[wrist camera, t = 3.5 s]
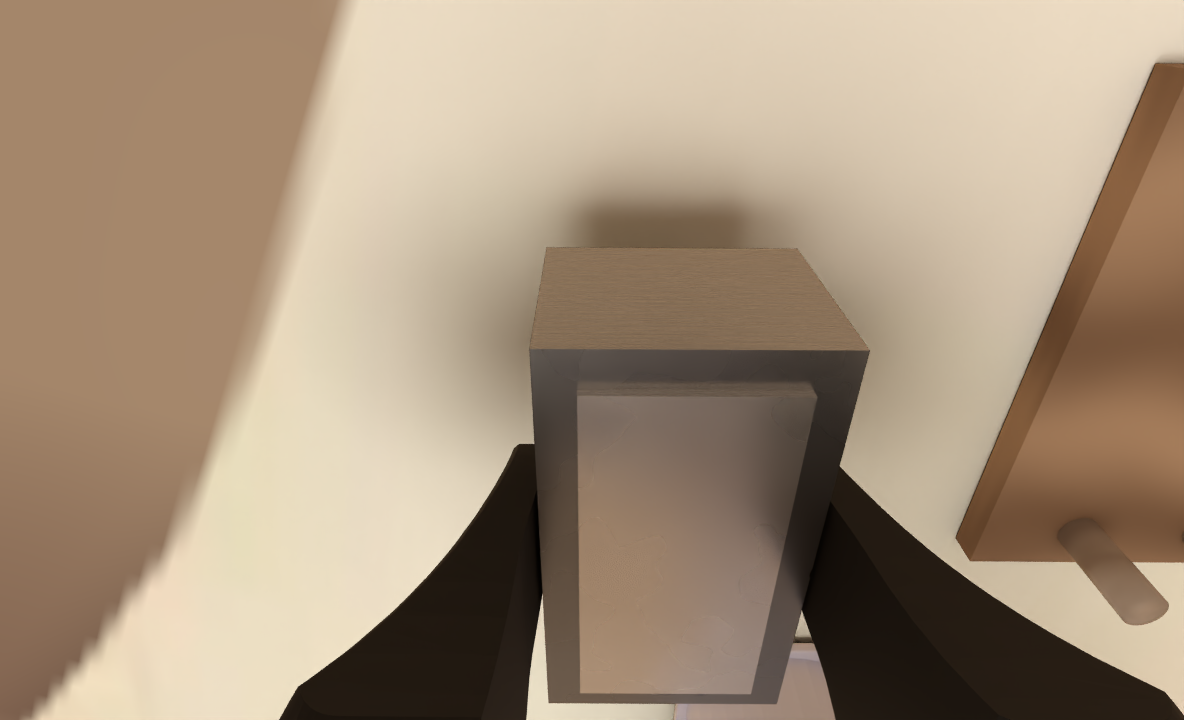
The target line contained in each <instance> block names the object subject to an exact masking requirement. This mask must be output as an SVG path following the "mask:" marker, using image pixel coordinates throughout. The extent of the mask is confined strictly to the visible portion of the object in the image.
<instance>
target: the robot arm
mask: <svg viewBox="0 0 1184 720" xmlns="http://www.w3.org/2000/svg"><path fill="white" fill-rule="evenodd" d="M542 593H543V590H542V571H541V553H540V535H539V516H538V498H537V479H536V461H535V444H519V445H517V446H516V447H515V448H514V450H513V452H512V454H511V457H510V459H509V461H508V463H507V465H506V467H505V469H504V470H503V472H502V474H501V476H500V478H499V479H498V481H497V483H496V485H495V486H494V488H493V490H492V491H491V493H490V494H489V496H488V498H487V499H486V501H485V502H484V504H483V505H482V507H481V509H480V510H479V512H478V513H477V515H476V516H475V517H474V519H473V520H472V522H471V523H470V524H469V526H468V527H467V528H466V530H465V531H464V532H463V534H462V535H461V537H460V538H459V539H458V541H457V542H456V543H455V545H454V546H453V547H452V548H451V550H450V551H449V552H448V553H447V555H446V556H445V557H444V558H443V559H442V561H441V562H440V563H439V564H438V565H437V566H436V567H435V569H434V570H433V571H432V572H431V573H430V574H429V575H428V576H427V578H426V579H425V580H424V581H423V582H422V583H421V584H420V585H419V586H418V587H417V588H416V589H415V590H414V591H413V592H412V593H411V594H410V595H409V596H408V597H407V598H406V599H405V600H404V601H403V602H402V603H401V604H400V605H399V606H398V607H397V608H396V609H395V610H394V611H393V612H392V613H391V614H390V615H388V616H387V617H386V618H385V619H384V620H383V621H382V622H380V623H379V624H378V625H377V626H376V627H375V628H374V629H372V630H371V631H370V632H369V633H368V634H367V635H365V636H364V637H363V638H362V639H361V640H360V641H359V642H357V643H356V644H355V645H354V646H353V647H351V648H350V649H349V650H348V651H346V652H345V653H344V654H342V655H341V656H340V657H338V658H337V659H336V660H334V661H333V662H332V663H330V664H329V665H328V666H326V667H325V668H324V669H322V670H321V671H320V672H318V673H317V674H315V675H314V676H313V677H311V678H310V679H309V680H307V681H306V682H304V683H303V684H301V685H300V686H299V687H298V688H297V689H296V691H295V693H294V695H293V696H292V698H291V700H290V701H289V703H288V705H287V707H286V708H285V710H284V712H283V714H282V716H281V718H280V719H279V720H526V715H527V702H528V688H529V676H530V668H531V660H532V653H533V647H534V641H535V635H536V629H537V623H538V617H539V611H540V605H541V599H542ZM802 612H803V615H804V617H805V620H806V623H807V626H808V629H809V631H810V634H811V637H812V640H813V643H793V645H792V648H791V652H790V656H789V660H788V664H787V667H786V671H785V675H784V679H783V683H782V686H781V690H780V694H779V698H778V702H777V704H675V712H674V719H673V720H1184V715H1183V714H1182V712H1181V711H1180V710H1179V708H1178V707H1177V706H1176V705H1175V703H1174V702H1173V701H1172V700H1171V699H1170V697H1169V696H1168V695H1167V694H1166V693H1165V692H1164V691H1162V690H1160V689H1158V688H1156V687H1154V686H1152V685H1150V684H1148V683H1146V682H1144V681H1142V680H1140V679H1137V678H1135V677H1133V676H1131V675H1129V674H1127V673H1125V672H1123V671H1121V670H1119V669H1117V668H1115V667H1113V666H1111V665H1109V664H1107V663H1105V662H1103V661H1101V660H1099V659H1097V658H1095V657H1093V656H1091V655H1089V654H1088V653H1086V652H1084V651H1082V650H1080V649H1079V648H1077V647H1075V646H1073V645H1071V644H1070V643H1068V642H1066V641H1064V640H1062V639H1061V638H1059V637H1057V636H1055V635H1053V634H1052V633H1050V632H1048V631H1047V630H1045V629H1043V628H1042V627H1040V626H1038V625H1037V624H1035V623H1033V622H1032V621H1030V620H1028V619H1027V618H1025V617H1023V616H1022V615H1020V614H1019V613H1017V612H1016V611H1014V610H1013V609H1011V608H1009V607H1008V606H1006V605H1005V604H1003V603H1002V602H1000V601H999V600H997V599H995V598H994V597H992V596H991V595H990V594H988V593H987V592H985V591H984V590H982V589H981V588H979V587H978V586H976V585H975V584H974V583H972V582H971V581H970V580H968V579H967V578H965V577H964V576H963V575H961V574H960V573H959V572H957V571H956V570H955V569H953V568H952V567H951V566H949V565H948V564H947V563H945V562H944V561H943V560H941V559H940V558H939V557H938V556H936V555H935V554H934V553H933V552H931V551H930V550H929V549H928V548H926V547H925V546H924V545H923V544H922V543H921V542H919V541H918V540H917V539H916V538H915V537H914V536H912V535H911V534H910V533H909V532H908V531H906V530H905V529H904V528H903V527H902V526H901V525H900V524H899V523H897V522H896V521H895V520H894V519H893V518H892V517H891V516H890V515H889V514H888V513H887V512H885V511H884V510H883V509H882V508H881V507H880V506H879V505H878V504H877V503H876V502H875V501H874V500H873V499H872V498H871V497H870V496H869V495H868V494H867V493H866V492H865V491H864V490H863V489H861V488H860V487H859V486H858V485H857V484H856V483H855V482H854V481H853V480H852V479H851V478H850V477H849V476H848V474H847V473H846V472H845V471H844V470H843V469H842V468H841V467H840V466H839V470H838V474H837V477H836V481H835V485H834V489H833V493H832V496H831V500H830V504H829V508H828V512H827V515H826V519H825V523H824V527H823V531H822V534H821V538H820V542H819V546H818V550H817V553H816V557H815V561H814V565H813V569H812V572H811V576H810V580H809V584H808V588H807V591H806V595H805V599H804V603H803V607H802Z"/></svg>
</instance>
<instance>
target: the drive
mask: <svg viewBox="0 0 1184 720" xmlns="http://www.w3.org/2000/svg"><path fill="white" fill-rule="evenodd" d="M529 351H530V369H531V387H532V406H533V424H534V443H535V461H536V479H537V498H538V516H539V535H540V553H541V571H542V590H543V608H544V627H545V645H546V663H547V682H548V700H549V703H629V704H777V702H778V698H779V694H780V690H781V686H782V683H783V679H784V675H785V671H786V667H787V664H788V660H789V656H790V652H791V648H792V645H793V641H794V637H795V633H796V629H797V626H798V622H799V618H800V614H801V610H802V607H803V603H804V599H805V595H806V591H807V588H808V584H809V580H810V576H811V572H812V569H813V565H814V561H815V557H816V553H817V550H818V546H819V542H820V538H821V534H822V531H823V527H824V523H825V519H826V515H827V512H828V508H829V504H830V500H831V496H832V493H833V489H834V485H835V481H836V477H837V474H838V470H839V466H840V462H841V458H842V455H843V451H844V447H845V443H846V439H847V436H848V432H849V428H850V424H851V420H852V417H853V413H854V409H855V405H856V401H857V397H858V394H859V390H860V386H861V382H862V378H863V375H864V371H865V367H866V363H867V359H868V356H869V352H870V350H869V349H868V347H867V346H866V344H865V343H864V342H863V340H862V339H861V337H860V336H859V335H858V333H857V332H856V330H855V329H854V328H853V326H852V325H851V323H850V322H849V321H848V319H847V318H846V316H845V315H844V314H843V312H842V311H841V309H840V308H839V307H838V305H837V304H836V302H835V301H834V300H833V298H832V297H831V295H830V294H829V293H828V291H827V290H826V288H825V287H824V286H823V284H822V283H821V281H820V280H819V279H818V277H817V276H816V274H815V273H814V271H813V270H812V269H811V267H810V266H809V264H808V263H807V262H806V260H805V259H804V257H803V256H802V255H801V253H800V252H799V250H798V249H763V248H546V254H545V260H544V266H543V272H542V278H541V284H540V290H539V295H538V301H537V307H536V313H535V319H534V325H533V331H532V337H531V342H530V348H529Z"/></svg>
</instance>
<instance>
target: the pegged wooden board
mask: <svg viewBox="0 0 1184 720" xmlns="http://www.w3.org/2000/svg"><path fill="white" fill-rule="evenodd" d="M956 539H957V541H958V543H959V544H960V546H961V547H962V549H963V551H964V552H965V554H966V555H967V557H968V559H969V560H970V561H1021V562H1076V563H1077V564H1078V565H1079V566H1080V568H1081V569H1082V570H1083V571H1084V573H1085V574H1086V575H1087V576H1088V578H1089V579H1090V580H1091V581H1092V583H1093V584H1094V585H1095V586H1096V588H1097V589H1098V590H1099V591H1100V593H1101V594H1102V595H1103V596H1104V598H1105V599H1106V600H1107V601H1108V603H1109V604H1110V605H1111V606H1112V608H1113V609H1114V610H1115V611H1116V613H1117V614H1118V615H1119V616H1120V618H1121V619H1122V620H1123V621H1124V622H1125V623H1127V624H1130V625H1143V624H1147V623H1151V622H1153V621H1155V620H1157V619H1159V618H1160V617H1162V616H1163V615H1164V614H1165V613H1166V612H1167V610H1168V607H1169V604H1168V602H1167V601H1166V600H1165V599H1164V598H1163V596H1162V595H1161V594H1160V593H1159V592H1158V591H1157V590H1156V589H1155V587H1154V586H1153V585H1152V584H1151V583H1150V582H1149V581H1148V580H1147V579H1146V577H1145V576H1144V575H1143V574H1142V573H1141V572H1140V571H1139V570H1138V568H1137V567H1136V566H1135V565H1134V564H1133V563H1132V562H1184V64H1160V63H1156V65H1155V67H1154V69H1153V72H1152V74H1151V76H1150V79H1149V81H1148V84H1147V86H1146V88H1145V91H1144V93H1143V95H1142V98H1141V100H1140V103H1139V105H1138V107H1137V110H1136V112H1135V114H1134V117H1133V119H1132V121H1131V124H1130V126H1129V129H1128V131H1127V133H1126V136H1125V138H1124V140H1123V143H1122V145H1121V148H1120V150H1119V152H1118V155H1117V157H1116V159H1115V162H1114V164H1113V167H1112V169H1111V171H1110V174H1109V176H1108V178H1107V181H1106V183H1105V186H1104V188H1103V190H1102V193H1101V195H1100V197H1099V200H1098V202H1097V205H1096V207H1095V209H1094V212H1093V214H1092V216H1091V219H1090V221H1089V224H1088V226H1087V228H1086V231H1085V233H1084V235H1083V238H1082V240H1081V242H1080V245H1079V247H1078V250H1077V252H1076V254H1075V257H1074V259H1073V261H1072V264H1071V266H1070V269H1069V271H1068V273H1067V276H1066V278H1065V280H1064V283H1063V285H1062V288H1061V290H1060V292H1059V295H1058V297H1057V299H1056V302H1055V304H1054V307H1053V309H1052V311H1051V314H1050V316H1049V318H1048V321H1047V323H1046V326H1045V328H1044V330H1043V333H1042V335H1041V337H1040V340H1039V342H1038V345H1037V347H1036V349H1035V352H1034V354H1033V356H1032V359H1031V361H1030V364H1029V366H1028V368H1027V371H1026V373H1025V375H1024V378H1023V380H1022V382H1021V385H1020V387H1019V390H1018V392H1017V394H1016V397H1015V399H1014V401H1013V404H1012V406H1011V409H1010V411H1009V413H1008V416H1007V418H1006V420H1005V423H1004V425H1003V428H1002V430H1001V432H1000V435H999V437H998V439H997V442H996V444H995V447H994V449H993V451H992V454H991V456H990V458H989V461H988V463H987V466H986V468H985V470H984V473H983V475H982V477H981V480H980V482H979V485H978V487H977V489H976V492H975V494H974V496H973V499H972V501H971V503H970V506H969V508H968V511H967V513H966V515H965V518H964V520H963V522H962V525H961V527H960V530H959V532H958V534H957V537H956Z"/></svg>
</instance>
